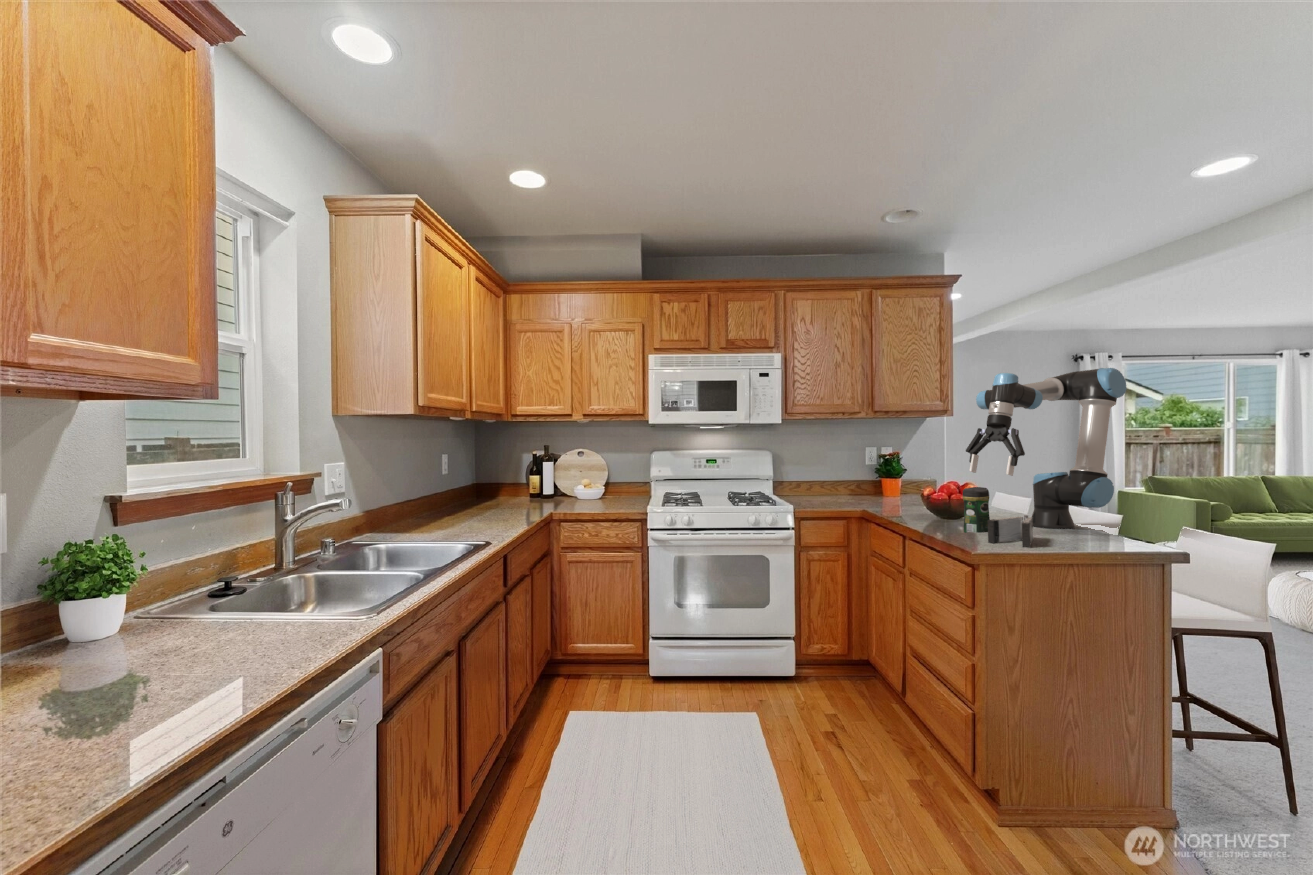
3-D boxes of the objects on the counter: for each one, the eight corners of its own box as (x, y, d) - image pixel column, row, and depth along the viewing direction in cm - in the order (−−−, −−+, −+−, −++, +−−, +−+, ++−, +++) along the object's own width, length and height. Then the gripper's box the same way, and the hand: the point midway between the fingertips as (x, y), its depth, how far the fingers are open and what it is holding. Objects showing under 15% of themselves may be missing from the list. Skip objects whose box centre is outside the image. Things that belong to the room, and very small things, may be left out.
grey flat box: (1025, 540, 203) (1024, 515, 203) (1034, 540, 201) (1034, 515, 201) (1019, 548, 189) (1018, 521, 189) (1029, 549, 187) (1028, 522, 187)
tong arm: (1018, 538, 204) (1017, 516, 204) (1023, 539, 202) (1023, 517, 202) (988, 542, 197) (987, 520, 197) (993, 543, 196) (992, 520, 196)
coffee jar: (975, 531, 228) (974, 485, 228) (994, 534, 220) (993, 487, 221) (959, 533, 224) (958, 487, 224) (978, 536, 216) (976, 488, 216)
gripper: (961, 414, 211) (952, 469, 210) (1029, 412, 189) (1019, 474, 187) (974, 418, 215) (965, 472, 213) (1042, 417, 192) (1032, 478, 190)
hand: (990, 473), depth 200 cm, fingers open, 13 cm apart
